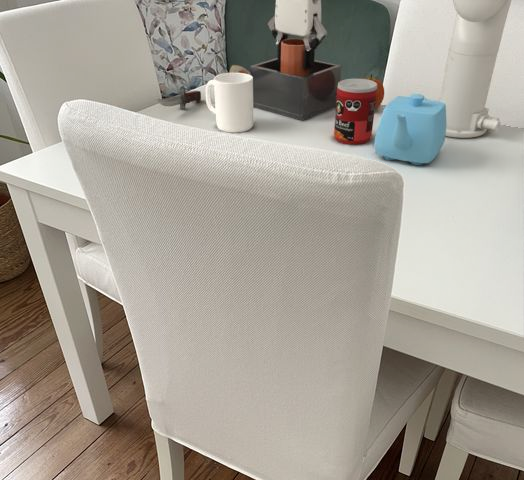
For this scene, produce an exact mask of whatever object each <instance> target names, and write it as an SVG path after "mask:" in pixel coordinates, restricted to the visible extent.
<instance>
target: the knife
mask: <svg viewBox="0 0 524 480" xmlns="http://www.w3.org/2000/svg"><path fill="white" fill-rule="evenodd" d="M201 92H202V91H201V90H190V91H187V92H186V88H185V87H180V88H179V94H177V95H173V96H169V97H165V98H156V100H157V102H158V104H160V105H161V106H164V107H175V106H179V107H180V109H181V110H186V105H187V104H190V103H194V102H197V103H199V102H201V101H202V93H201Z"/></svg>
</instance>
